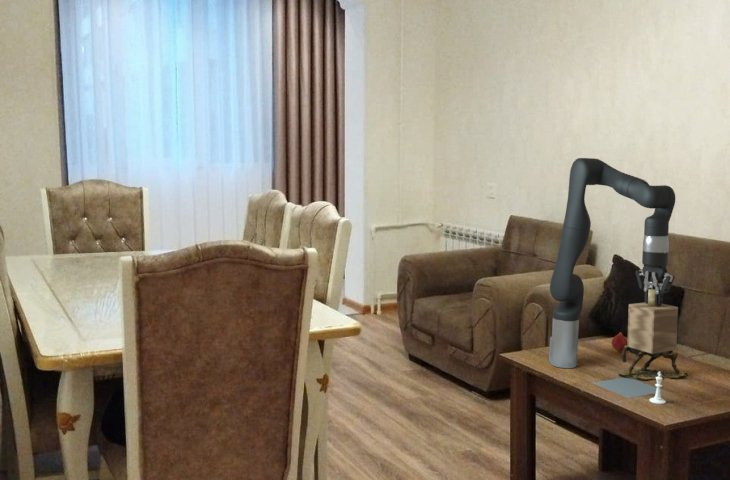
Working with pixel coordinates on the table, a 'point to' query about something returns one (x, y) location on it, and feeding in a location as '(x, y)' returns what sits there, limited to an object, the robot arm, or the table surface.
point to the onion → (619, 342)
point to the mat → (627, 387)
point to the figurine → (645, 372)
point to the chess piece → (658, 392)
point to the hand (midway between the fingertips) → (653, 304)
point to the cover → (652, 326)
